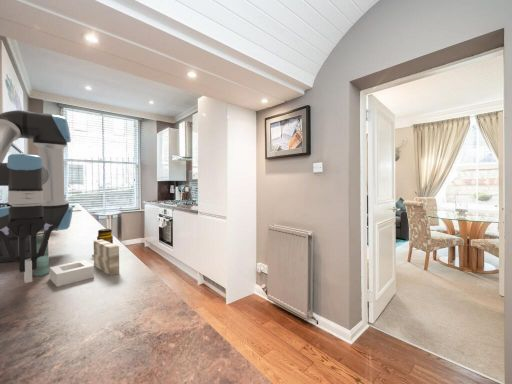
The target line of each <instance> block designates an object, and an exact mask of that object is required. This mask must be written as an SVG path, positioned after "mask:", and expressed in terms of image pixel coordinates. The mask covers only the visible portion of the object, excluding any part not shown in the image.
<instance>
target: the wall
mask: <svg viewBox="0 0 512 384" xmlns="http://www.w3.org/2000/svg"><path fill="white" fill-rule="evenodd" d="M93 255H94V259H93V266H94V267H96V268H97V269H99V270H100V271H101V272H104V274H107V275H108V276H111V277H112V276H113V275H114V276H115V275H117V274H120V246H119V245H117V244H115V243H114V242H113V243H110V242H108V241H105V240H102V239H101V240H97V239H96V240H93Z"/></svg>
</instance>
